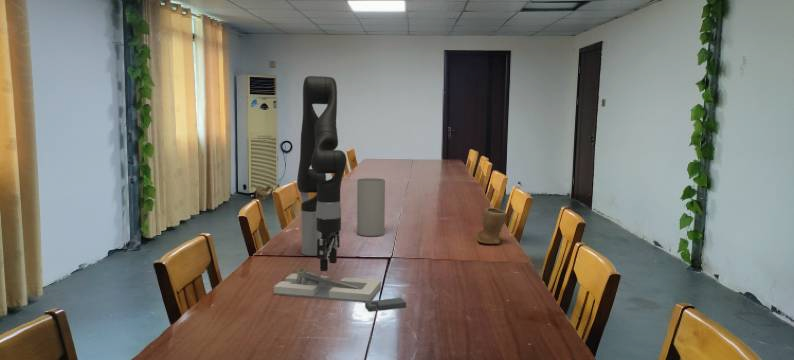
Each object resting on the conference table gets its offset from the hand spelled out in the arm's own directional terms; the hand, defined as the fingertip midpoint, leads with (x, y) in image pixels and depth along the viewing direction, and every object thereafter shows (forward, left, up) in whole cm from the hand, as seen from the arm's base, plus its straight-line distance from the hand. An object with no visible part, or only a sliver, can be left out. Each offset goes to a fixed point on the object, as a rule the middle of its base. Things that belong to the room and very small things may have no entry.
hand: (328, 266), depth 170 cm
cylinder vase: (-81, -8, -8) cm, 82 cm away
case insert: (0, 0, -8) cm, 8 cm away
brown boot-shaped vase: (-80, +46, -8) cm, 93 cm away
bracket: (+10, +20, -8) cm, 24 cm away
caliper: (0, 0, -7) cm, 7 cm away
